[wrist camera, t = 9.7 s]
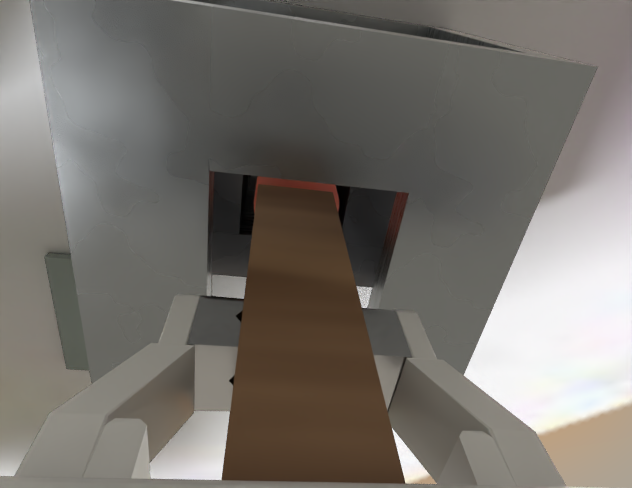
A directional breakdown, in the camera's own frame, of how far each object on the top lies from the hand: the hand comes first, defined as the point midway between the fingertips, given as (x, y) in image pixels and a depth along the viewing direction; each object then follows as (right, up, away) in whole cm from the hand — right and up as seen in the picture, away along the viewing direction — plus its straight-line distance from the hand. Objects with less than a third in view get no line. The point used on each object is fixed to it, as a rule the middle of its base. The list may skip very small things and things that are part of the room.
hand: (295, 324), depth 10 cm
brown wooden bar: (0, +3, +4) cm, 5 cm away
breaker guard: (-1, +6, +11) cm, 12 cm away
